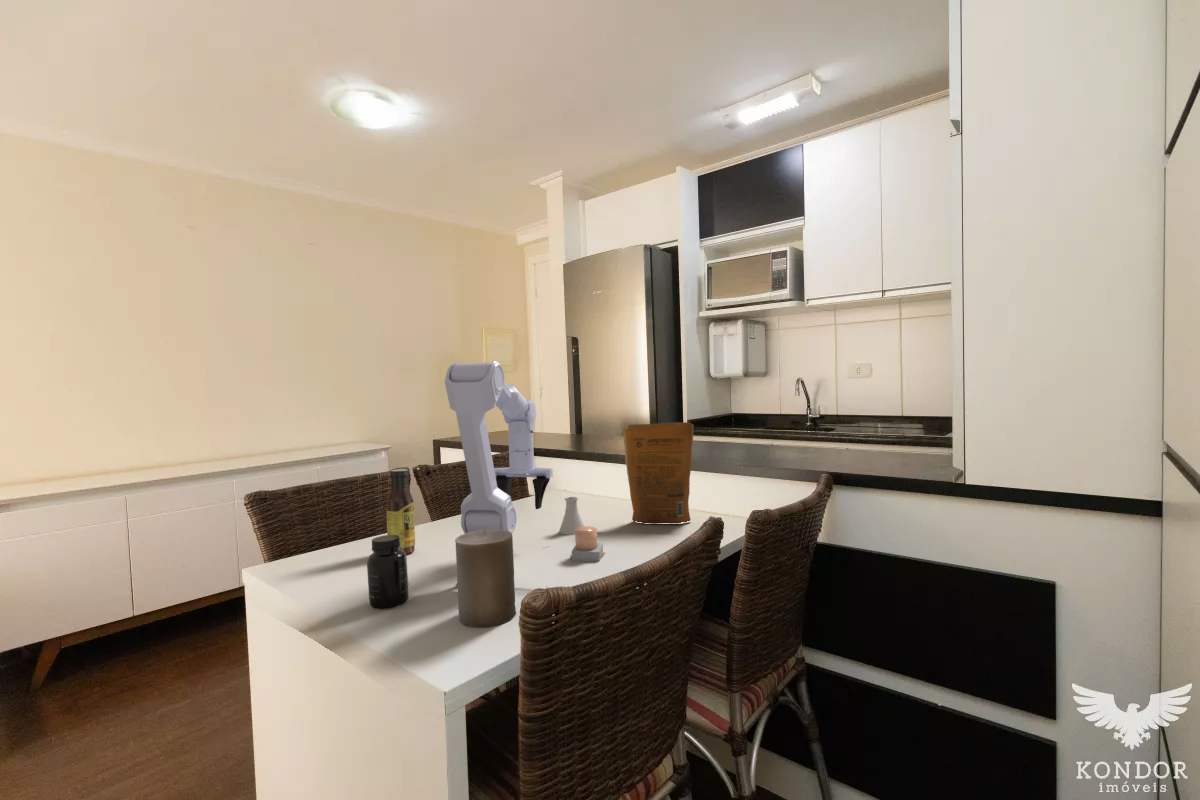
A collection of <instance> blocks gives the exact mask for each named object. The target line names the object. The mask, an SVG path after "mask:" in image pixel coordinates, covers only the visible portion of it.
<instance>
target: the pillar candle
mask: <svg viewBox="0 0 1200 800" xmlns="http://www.w3.org/2000/svg"><path fill="white" fill-rule="evenodd" d="M513 540H514V539H513V533H511V532H509V531H506V530H498V529H492V530H485V529H484V530H480V531H474V532H469V533H466V534H465V533H463V534H460V535H459V536H457V537H456V539H455V540H454V541H455V557H456V558H455V560H456V581H457V583H456V584H457V585H456V586H457V603H458V604H457V606H458V609H457V610H458V620H459V622H460V623H461V624H463V625H464V626H468V627H475V628H476V627H477V628H481V627H482V628H483V627H491V626H498V625H501V624H504V623H506V622H508V621H510V620H512V619H513V618H514V616H516V615H517V611H516V590H515V587H516V586H515V567H514V566H515V565H514V564H515V563H514V543H513Z"/></svg>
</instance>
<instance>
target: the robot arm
mask: <svg viewBox="0 0 1200 800" xmlns="http://www.w3.org/2000/svg"><path fill="white" fill-rule="evenodd" d="M444 385H445V390H446V395H447V400H448V405H449V408H450V409H451V410H452V411H454V413H455V415H456V421H457V425H458V431H459V436H460V440H461V445H462V452H463V456H464V460H465V461H464V462H465V466H466V470H467V476H468V477H467V478H468V481H469V486H470V491H471V493H469V494H468V495H466V497H465V498H464V499H463V500H462V502H461V505H460V513H461V514H460V515H461V516H460V526H461V529H462V532H463V534H466V533H469V532H474V531H480V530H484V529H485V530H492V529H498V530H506V531H509V532H511V533H512V534H513V533H514V531H515V529H516V526H517V511H516V509H515V507H514V505H513V502H512V501H513V500H512V484H513V483H512V482H513V478H534V479H532V484H533V489H534V506H535V510H539V509H541V508H542V504H543V498H544V495H545V492H546V489H547V486H548V484H549V482H550V479H551V478H552V477H553V475H554V473H553V472H554V471H553V468H551V467H549V468H548V467H546V468H544V467H536V466H535V455H534V454H535V453H534V452H535V451H534V430H535V428H536V417H537V408H536V403H535V402H534V401H533V400H531V399H529V398H525V397H524V396H523V394H521V393H520V392H519V391H518V389H517V388H516V387H515V386H514V385H513V384H507V383H506V382H505V371H504V368H503V366H502V364H501V363H500V362H499V361H496V360H495V361H492V362H488V361H487V362H465V363H464V362H463V363H459V362H453V363H451V364H450V365H449V367H448V368H447V370H446V374H445V378H444ZM495 407H497V408H498V409H499V411H501V413H502V415H503V418H504V419H503V421H505V423H506V424H507V429H508V430H507V431H508V454H509V455H508V457H509V459H508V460H509V462H508V463H509V464H508V465H509V466H508V467H495V466H494V459H493V454H492V449H491V443H490V438H489V431H488V426H487V421H486V413H487V412H488V411H491V410H492V409H494V408H495Z"/></svg>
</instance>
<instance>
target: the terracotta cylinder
mask: <svg viewBox="0 0 1200 800" xmlns="http://www.w3.org/2000/svg"><path fill="white" fill-rule="evenodd" d="M574 543H575V544H574V547H575V548H576V549H577V550H582V551H588V550H594V549H596V548H597V544H598V528H597V527H595V526H587V525H585V526H584V527H578V528H576V529H575V534H574Z"/></svg>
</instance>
